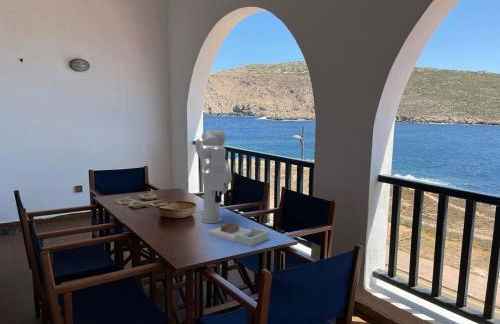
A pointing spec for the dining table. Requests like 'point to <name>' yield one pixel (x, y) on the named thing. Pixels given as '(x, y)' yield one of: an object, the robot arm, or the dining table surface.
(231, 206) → the dining table surface
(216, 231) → the board
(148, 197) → the tableware set
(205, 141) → the robot arm
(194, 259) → the dining table surface
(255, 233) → the box
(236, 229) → the brown round disc
